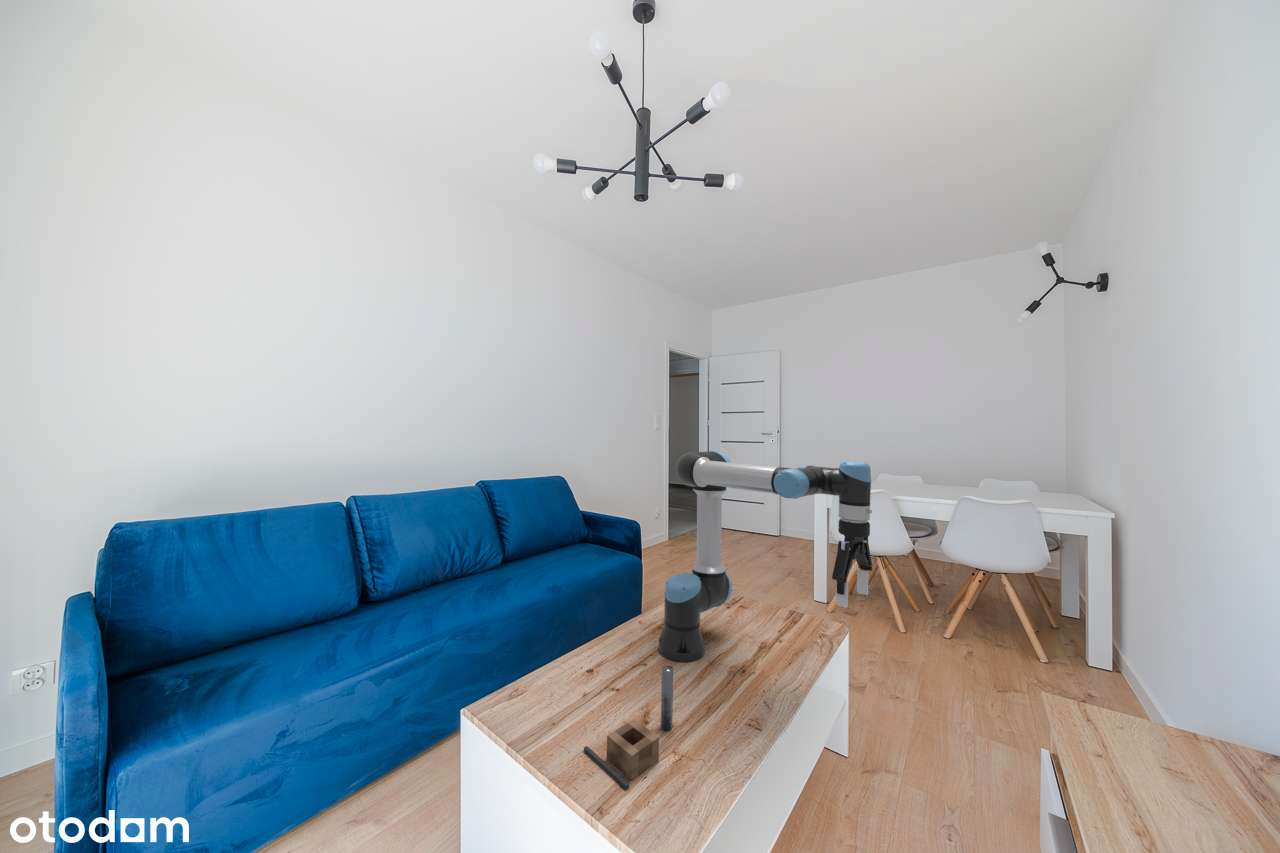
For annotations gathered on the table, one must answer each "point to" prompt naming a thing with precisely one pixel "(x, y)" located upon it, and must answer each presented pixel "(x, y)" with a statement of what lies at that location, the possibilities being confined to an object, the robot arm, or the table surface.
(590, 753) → the dark grey rod
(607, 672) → the table surface
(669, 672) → the dark grey peg
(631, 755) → the bead block
